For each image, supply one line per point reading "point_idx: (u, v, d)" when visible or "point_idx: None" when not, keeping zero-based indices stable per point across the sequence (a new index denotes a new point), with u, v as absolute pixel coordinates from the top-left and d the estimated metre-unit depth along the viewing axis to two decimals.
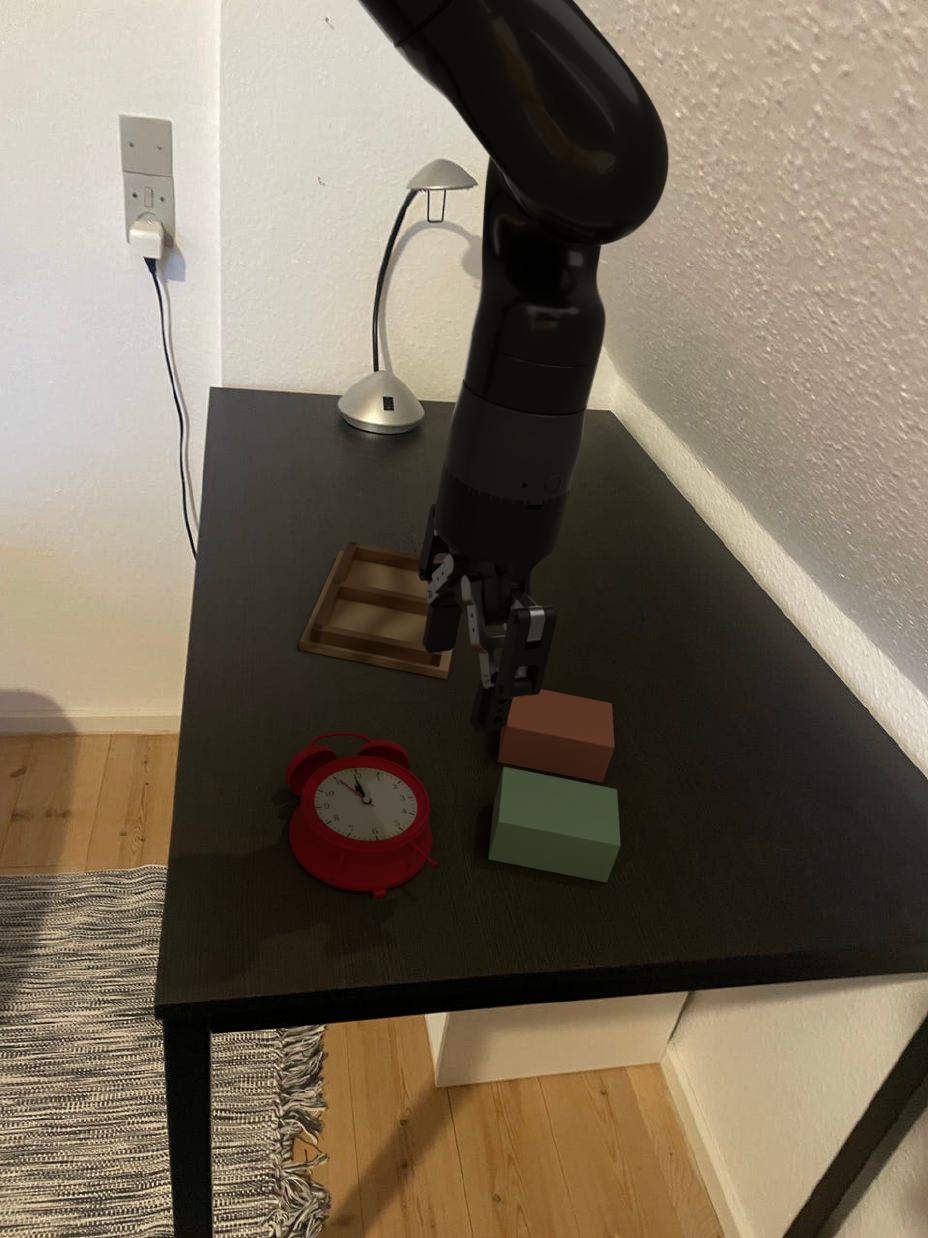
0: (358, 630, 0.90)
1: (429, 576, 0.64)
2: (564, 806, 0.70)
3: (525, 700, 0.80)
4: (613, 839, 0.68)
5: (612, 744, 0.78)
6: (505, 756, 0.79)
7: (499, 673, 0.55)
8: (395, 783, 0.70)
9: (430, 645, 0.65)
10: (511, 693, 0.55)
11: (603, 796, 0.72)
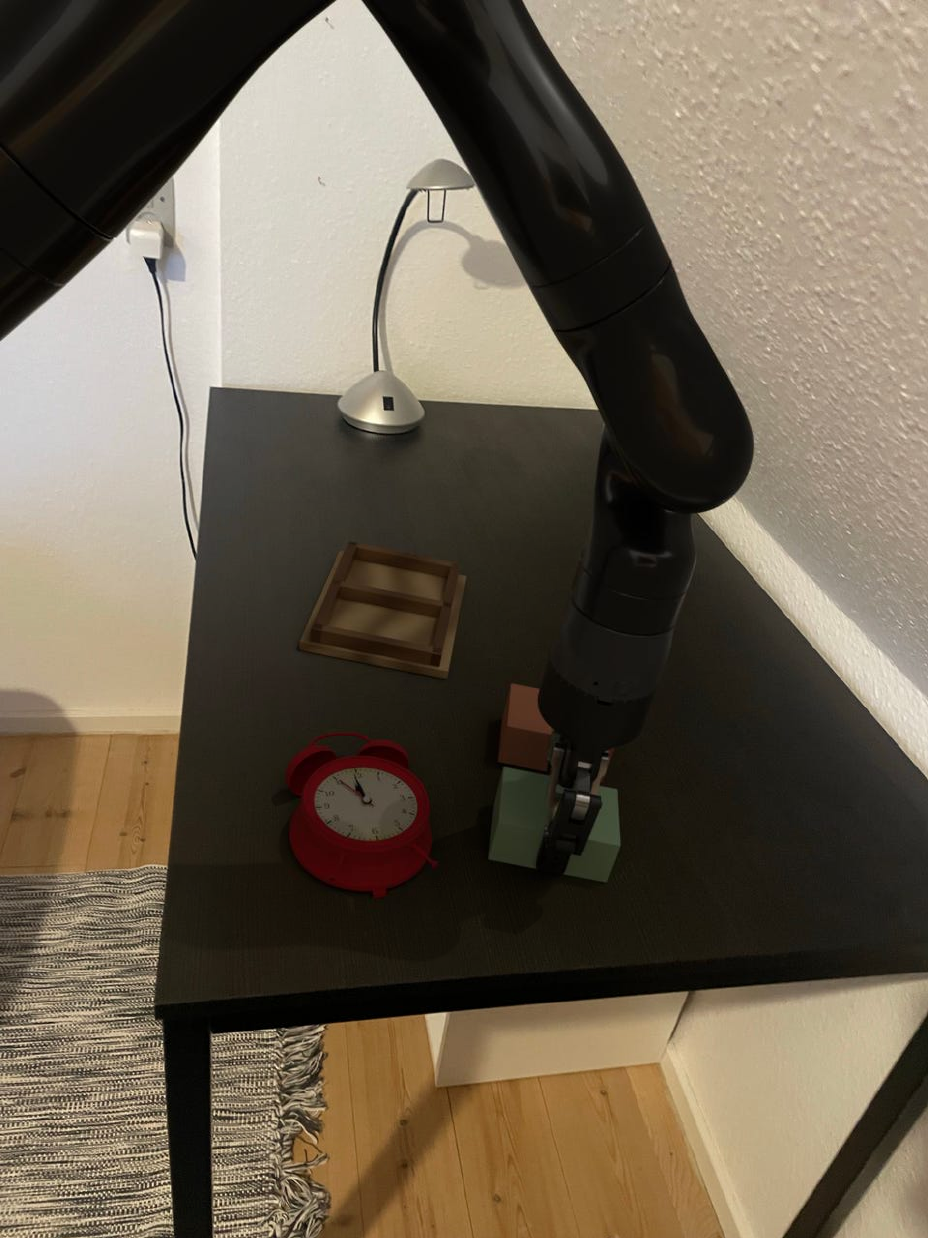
0: (358, 630, 0.90)
1: None
2: None
3: (525, 700, 0.80)
4: (613, 839, 0.68)
5: None
6: (505, 756, 0.79)
7: (550, 828, 0.65)
8: (395, 783, 0.70)
9: None
10: (553, 848, 0.64)
11: (603, 796, 0.72)
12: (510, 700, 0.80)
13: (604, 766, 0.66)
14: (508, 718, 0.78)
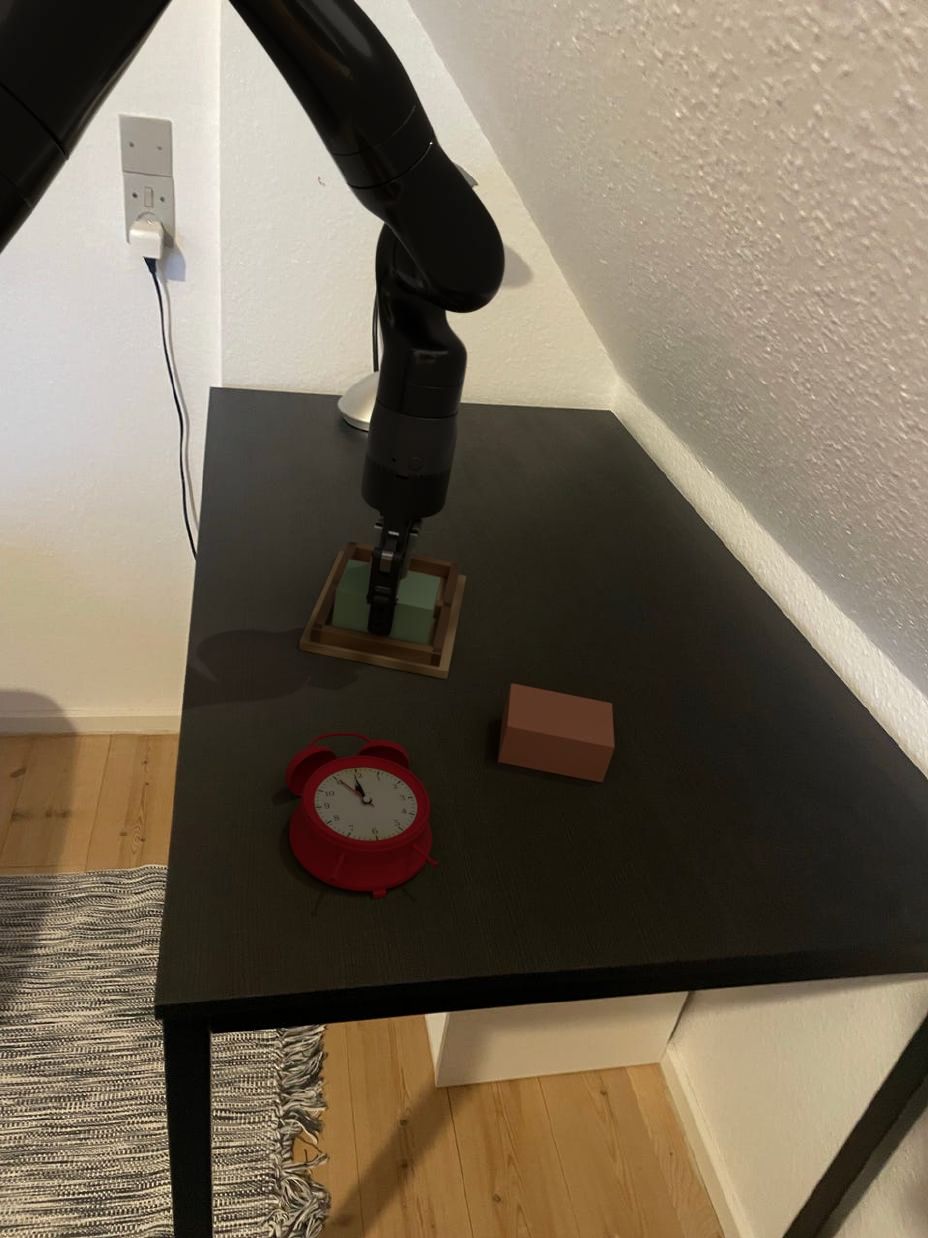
0: None
1: None
2: None
3: (525, 700, 0.80)
4: (427, 605, 0.86)
5: (612, 744, 0.78)
6: (505, 756, 0.79)
7: None
8: (395, 783, 0.70)
9: None
10: (372, 601, 0.82)
11: (427, 580, 0.90)
12: (510, 700, 0.80)
13: (414, 540, 0.83)
14: (508, 718, 0.78)
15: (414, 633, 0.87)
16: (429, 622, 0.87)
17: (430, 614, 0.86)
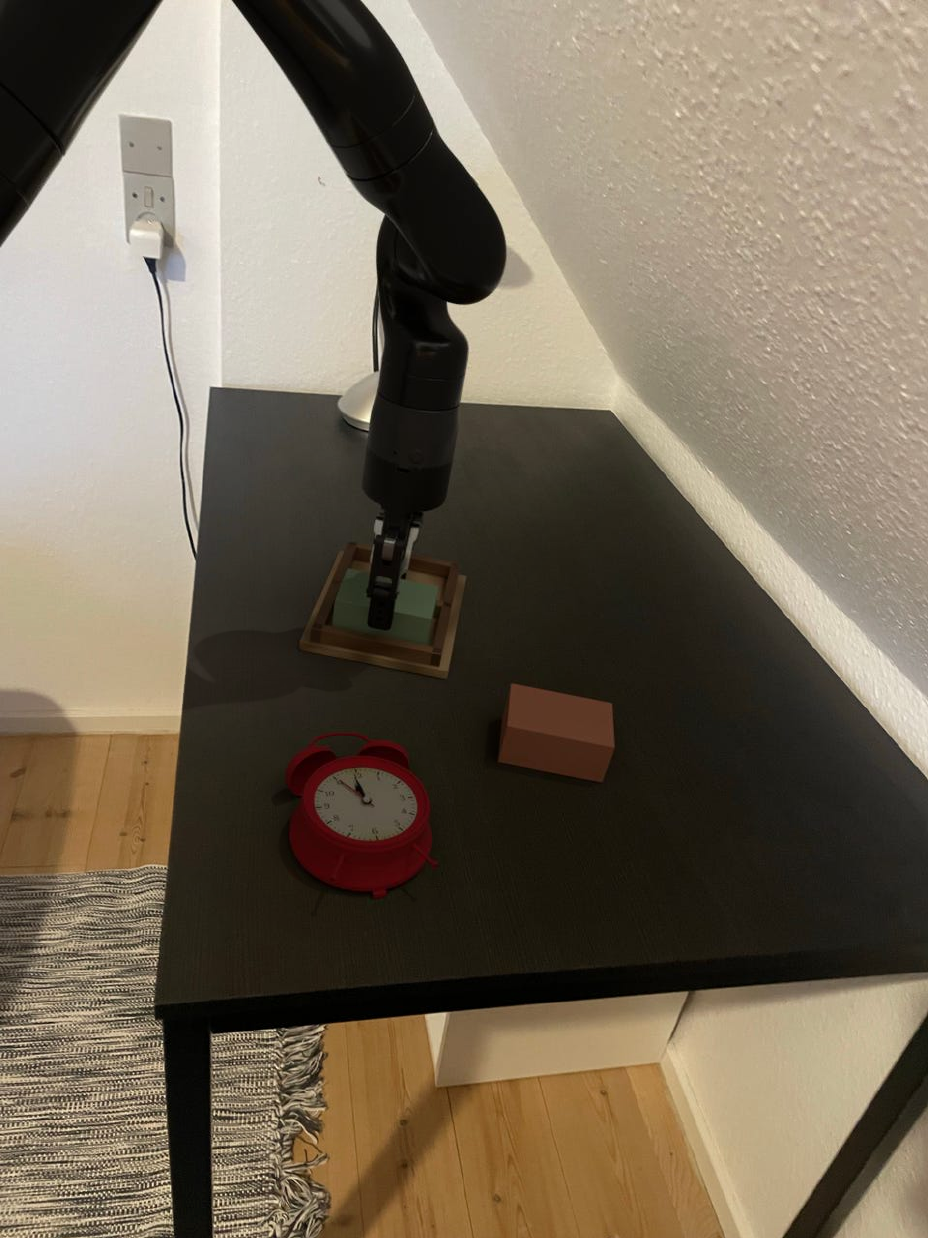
0: None
1: None
2: None
3: (525, 700, 0.80)
4: (426, 614, 0.87)
5: (612, 744, 0.78)
6: (505, 756, 0.79)
7: None
8: (395, 783, 0.70)
9: None
10: (372, 594, 0.81)
11: (426, 589, 0.91)
12: (510, 700, 0.80)
13: (415, 532, 0.83)
14: (508, 718, 0.78)
15: (413, 642, 0.88)
16: (427, 631, 0.87)
17: (428, 623, 0.87)
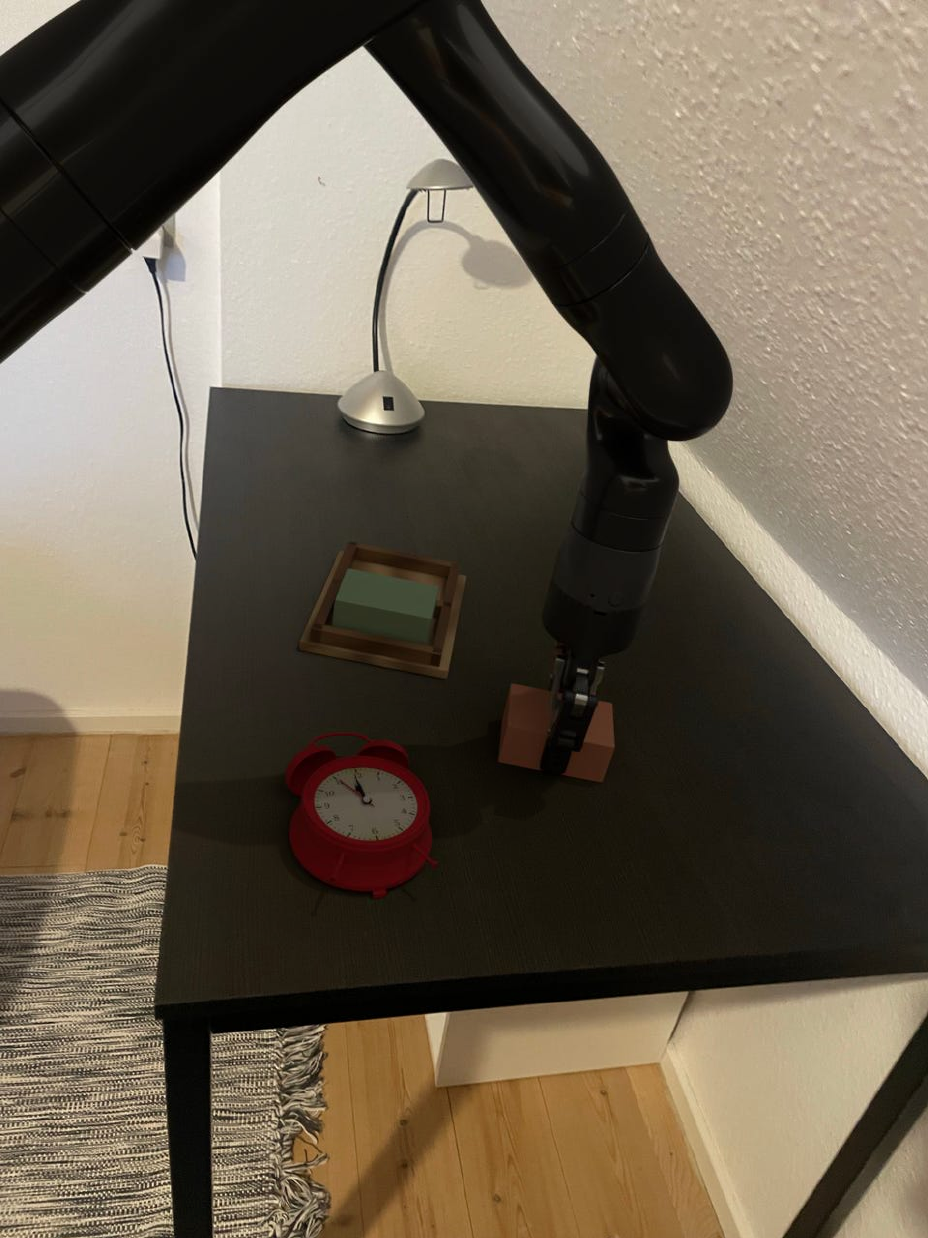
0: None
1: None
2: (392, 594, 0.89)
3: (525, 700, 0.80)
4: (426, 614, 0.87)
5: (612, 744, 0.78)
6: (505, 756, 0.79)
7: (553, 728, 0.74)
8: (395, 783, 0.70)
9: None
10: (555, 745, 0.74)
11: (426, 589, 0.91)
12: (510, 700, 0.80)
13: (600, 674, 0.75)
14: (508, 718, 0.78)
15: (413, 642, 0.88)
16: (427, 631, 0.87)
17: (428, 623, 0.87)
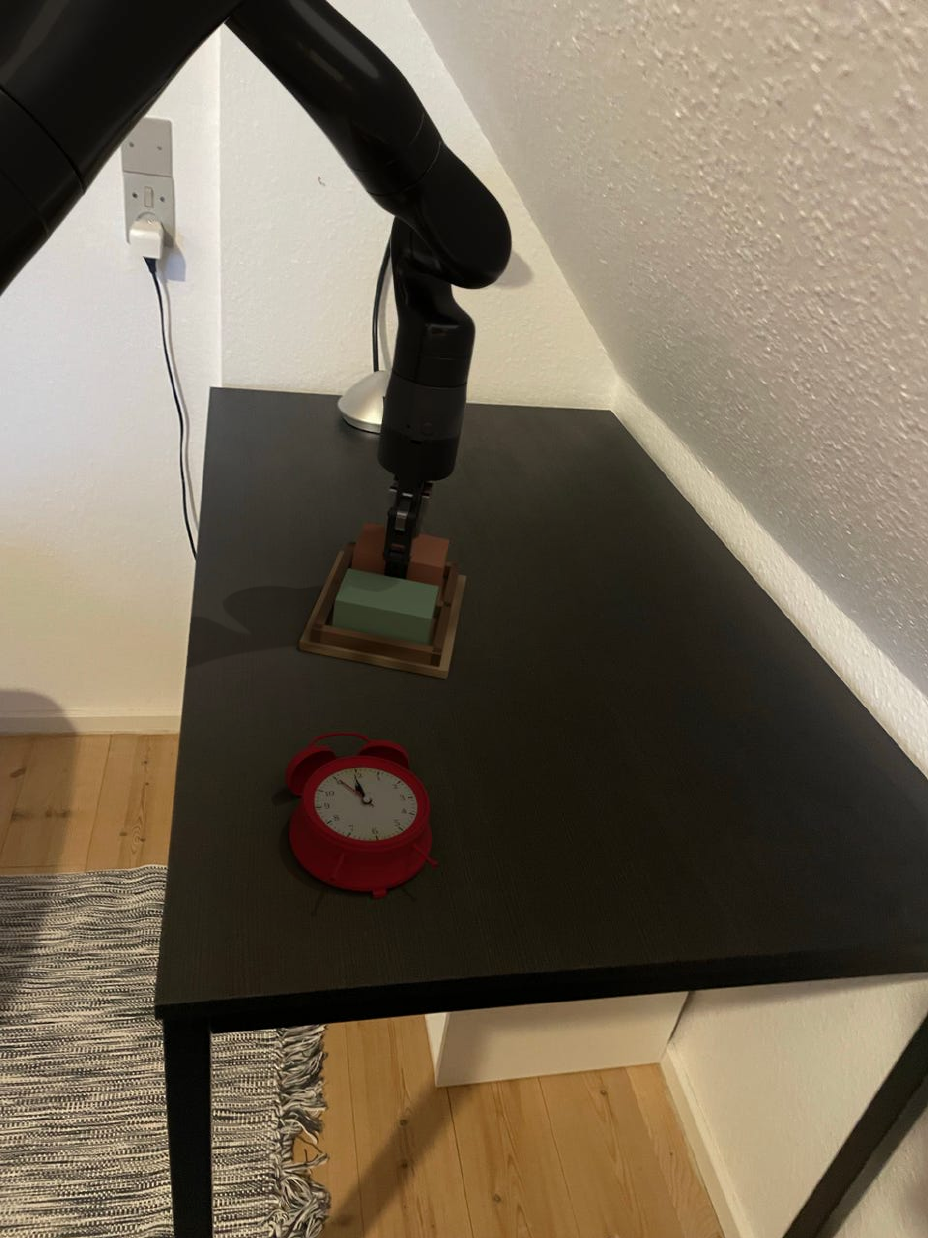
0: None
1: None
2: (392, 594, 0.89)
3: (373, 534, 0.96)
4: (426, 614, 0.87)
5: (441, 565, 0.93)
6: None
7: None
8: (395, 783, 0.70)
9: None
10: (387, 558, 0.89)
11: (426, 589, 0.91)
12: (361, 533, 0.96)
13: (426, 502, 0.91)
14: (356, 544, 0.94)
15: (413, 642, 0.88)
16: (427, 631, 0.87)
17: (428, 623, 0.87)
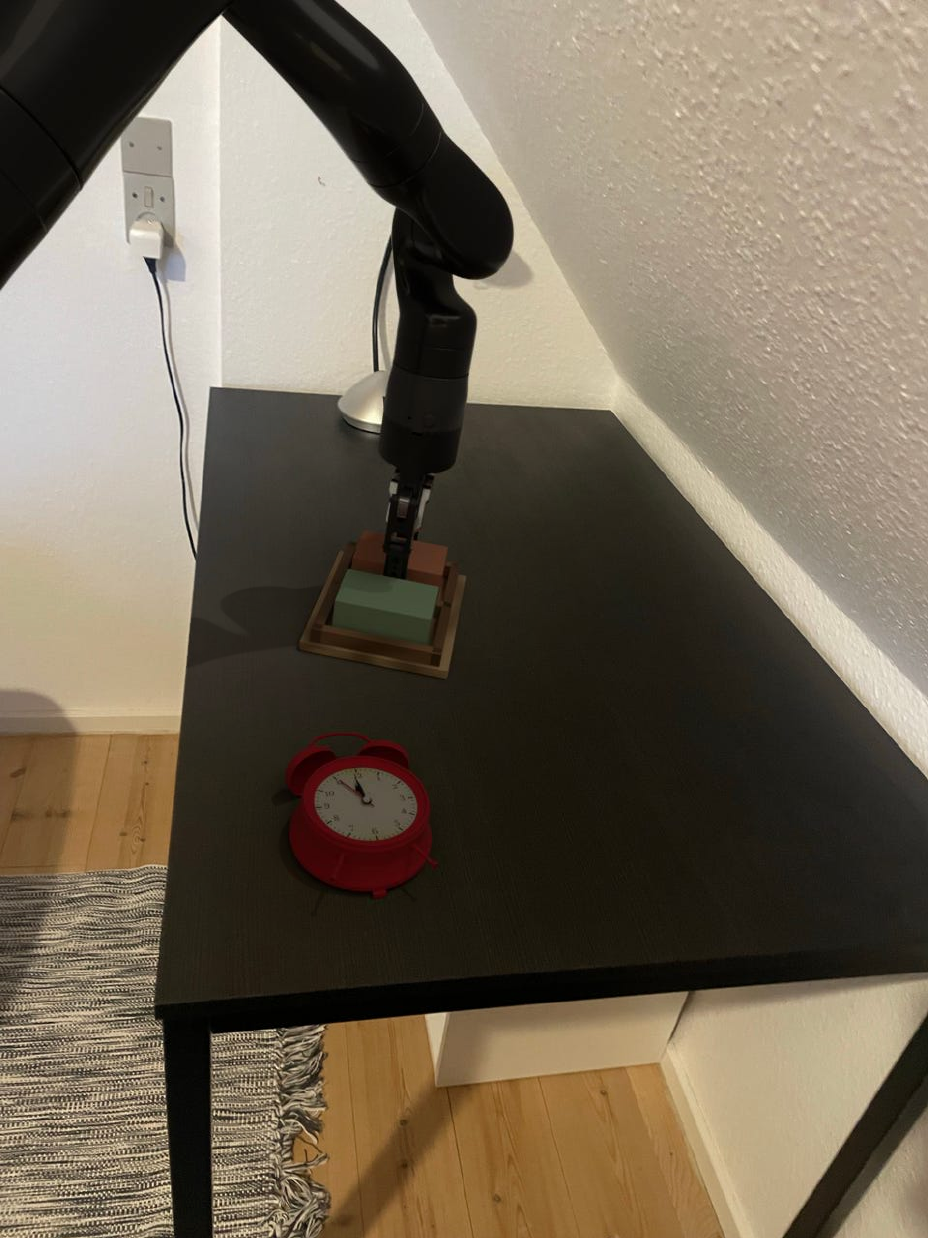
0: None
1: None
2: (391, 594, 0.89)
3: (372, 541, 0.97)
4: (426, 615, 0.87)
5: (440, 573, 0.94)
6: None
7: None
8: (395, 783, 0.70)
9: None
10: (388, 549, 0.88)
11: (425, 590, 0.91)
12: (359, 541, 0.96)
13: (427, 493, 0.90)
14: (355, 552, 0.94)
15: (412, 642, 0.88)
16: (427, 632, 0.87)
17: (428, 624, 0.87)
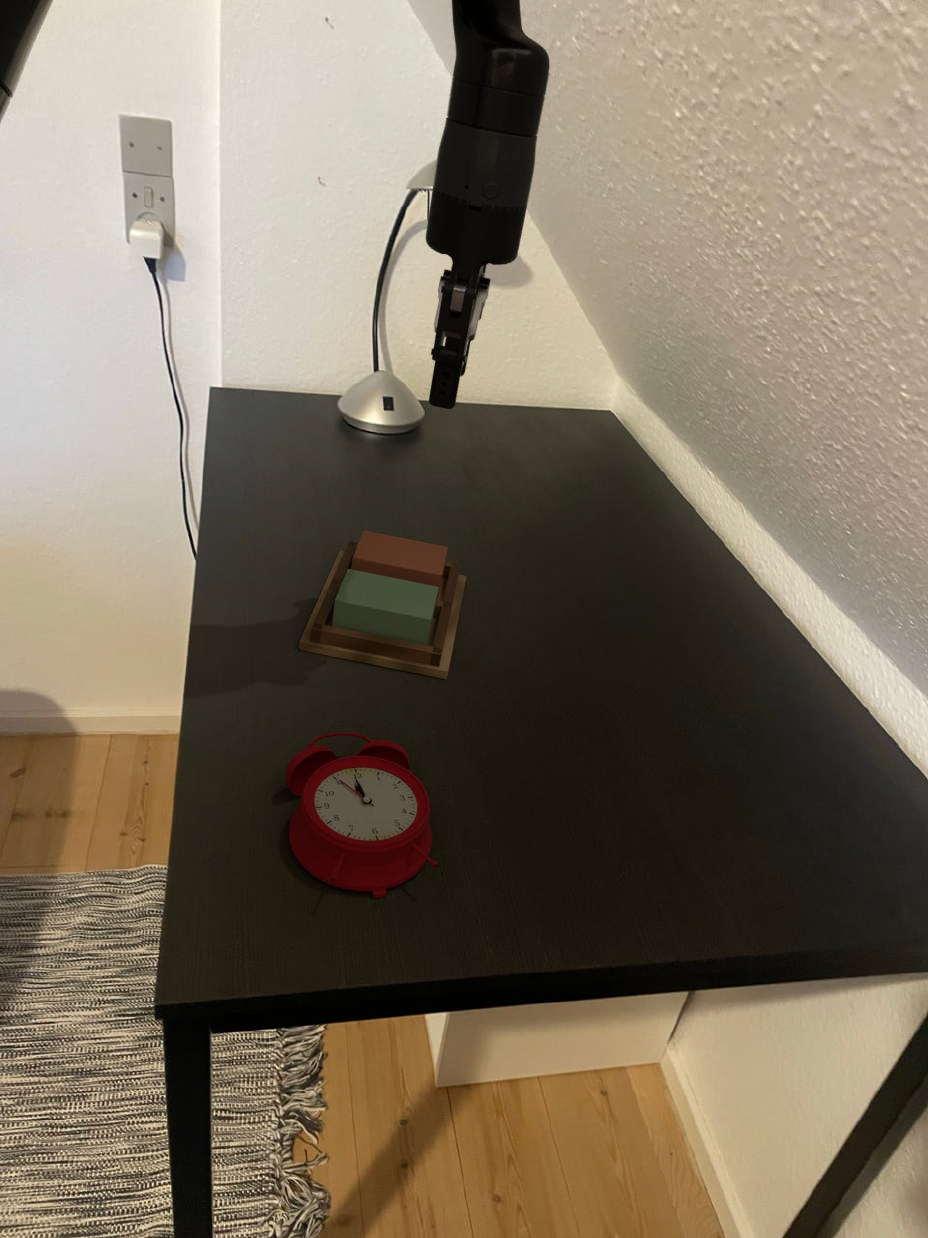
0: None
1: None
2: (391, 594, 0.89)
3: (372, 541, 0.97)
4: (426, 615, 0.87)
5: (440, 573, 0.94)
6: None
7: None
8: (395, 783, 0.70)
9: None
10: (438, 354, 0.73)
11: (425, 590, 0.91)
12: (359, 541, 0.96)
13: (483, 293, 0.76)
14: (355, 552, 0.94)
15: (412, 642, 0.88)
16: (427, 631, 0.87)
17: (428, 624, 0.87)
